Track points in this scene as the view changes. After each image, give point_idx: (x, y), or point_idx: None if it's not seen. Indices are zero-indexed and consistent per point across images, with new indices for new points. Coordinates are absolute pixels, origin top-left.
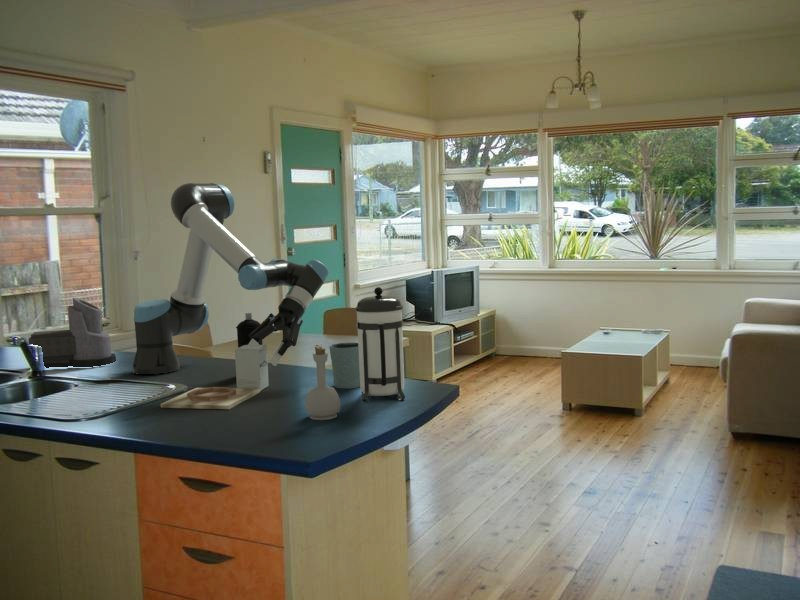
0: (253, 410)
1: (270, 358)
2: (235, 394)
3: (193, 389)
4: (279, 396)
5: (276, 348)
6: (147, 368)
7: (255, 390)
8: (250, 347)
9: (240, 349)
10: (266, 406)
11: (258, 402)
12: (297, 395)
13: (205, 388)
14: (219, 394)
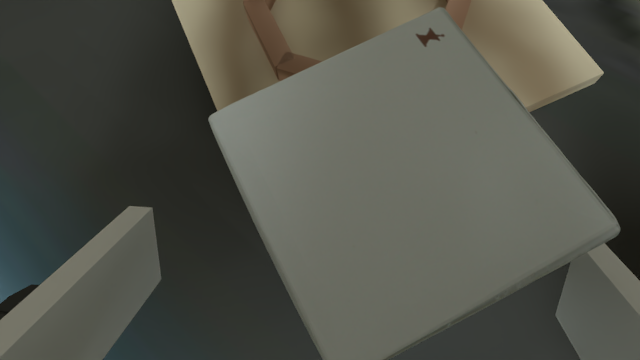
0: (56, 3)
1: (127, 217)
2: (273, 71)
3: (573, 42)
4: (102, 213)
5: (60, 290)
6: None
7: None
8: (339, 113)
9: (387, 33)
10: (43, 62)
11: (122, 88)
12: (20, 278)
13: (453, 18)
14: (354, 43)
